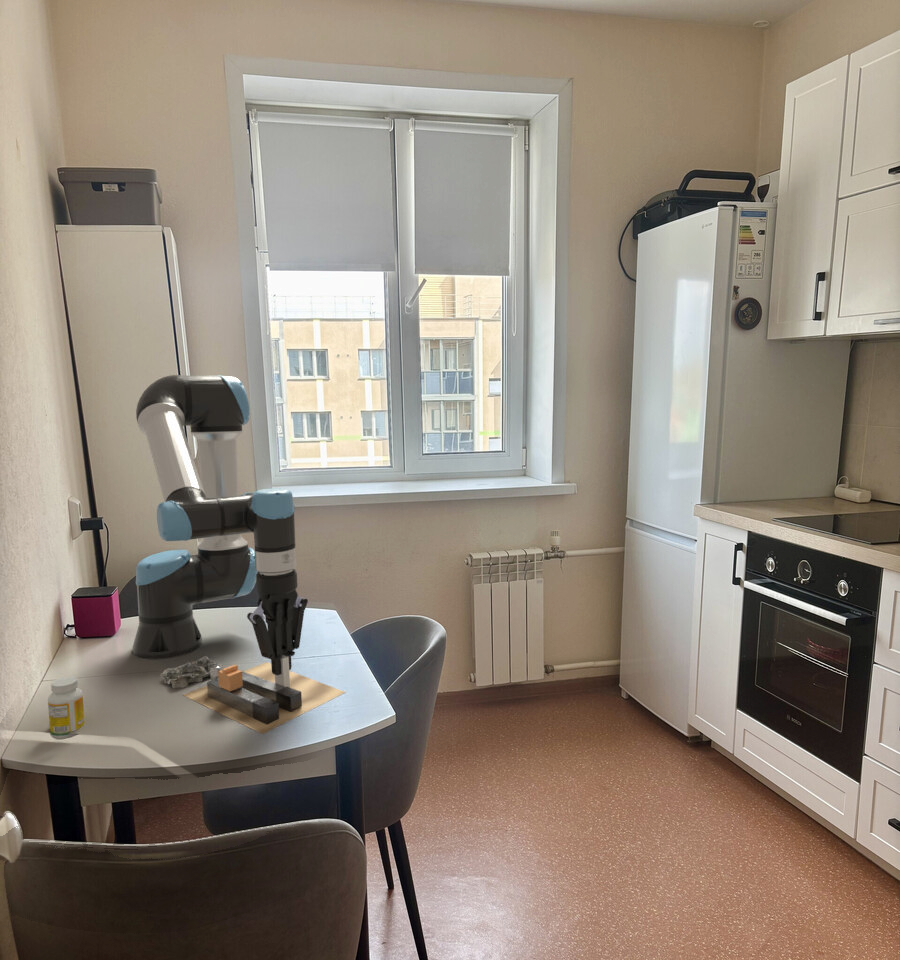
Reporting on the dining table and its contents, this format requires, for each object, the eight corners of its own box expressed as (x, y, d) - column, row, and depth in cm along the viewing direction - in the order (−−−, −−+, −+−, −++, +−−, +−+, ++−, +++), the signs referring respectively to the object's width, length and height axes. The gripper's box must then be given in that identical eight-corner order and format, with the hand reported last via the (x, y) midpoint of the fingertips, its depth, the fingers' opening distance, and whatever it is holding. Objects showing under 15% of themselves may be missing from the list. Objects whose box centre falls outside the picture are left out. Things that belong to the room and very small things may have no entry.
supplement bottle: (57, 743, 112) (52, 690, 111) (45, 733, 115) (41, 682, 114) (90, 731, 116) (86, 680, 115) (78, 721, 119) (74, 672, 118)
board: (183, 700, 127) (183, 695, 127) (266, 667, 143) (266, 662, 143) (262, 740, 112) (262, 733, 112) (346, 697, 128) (345, 692, 128)
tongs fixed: (198, 692, 128) (196, 671, 128) (219, 683, 132) (218, 663, 132) (266, 724, 115) (265, 701, 115) (288, 714, 119) (287, 691, 119)
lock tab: (218, 686, 123) (217, 667, 123) (231, 681, 126) (230, 662, 125) (230, 691, 121) (229, 672, 121) (242, 686, 124) (241, 667, 123)
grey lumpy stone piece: (175, 697, 129) (174, 678, 129) (159, 686, 134) (157, 667, 134) (224, 680, 137) (223, 662, 137) (207, 670, 142) (206, 652, 142)
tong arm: (227, 687, 130) (226, 674, 130) (238, 682, 132) (237, 669, 132) (291, 711, 120) (290, 697, 119) (301, 706, 122) (301, 691, 122)
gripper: (260, 581, 115) (268, 706, 118) (315, 565, 126) (320, 680, 129) (235, 575, 120) (242, 695, 123) (290, 560, 130) (295, 671, 133)
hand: (282, 687), depth 126 cm, fingers closed
